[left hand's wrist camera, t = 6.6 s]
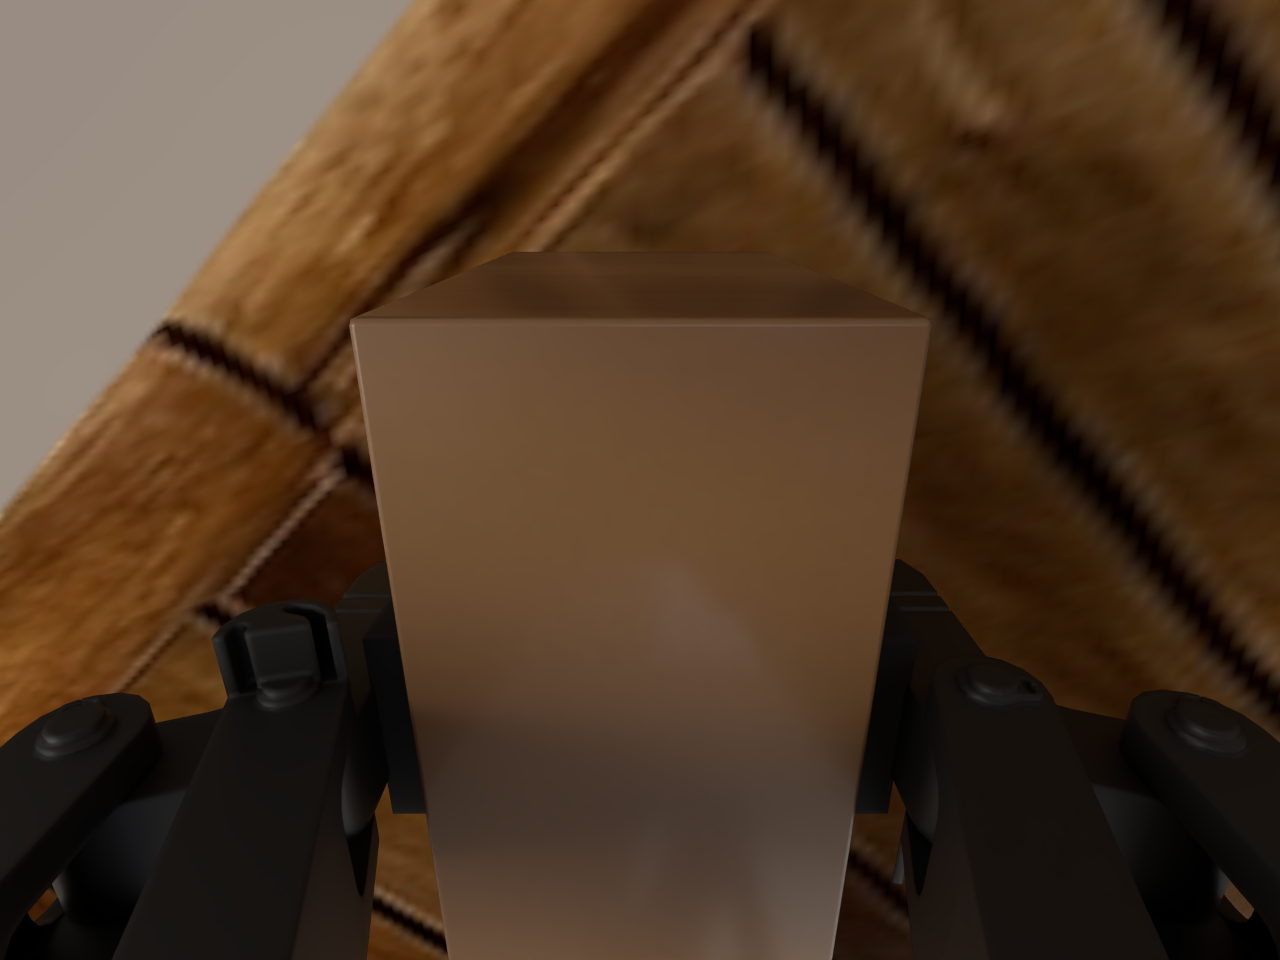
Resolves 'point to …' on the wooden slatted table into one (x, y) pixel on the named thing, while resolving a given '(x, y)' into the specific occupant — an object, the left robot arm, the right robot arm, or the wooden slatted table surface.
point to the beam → (640, 590)
